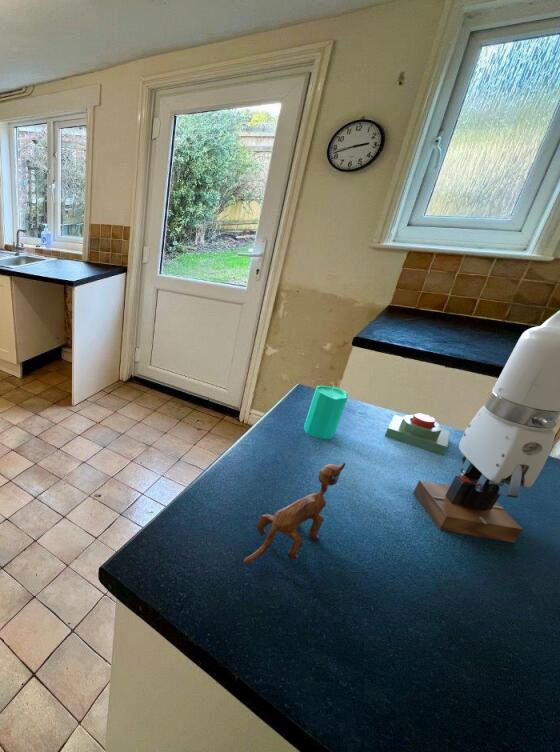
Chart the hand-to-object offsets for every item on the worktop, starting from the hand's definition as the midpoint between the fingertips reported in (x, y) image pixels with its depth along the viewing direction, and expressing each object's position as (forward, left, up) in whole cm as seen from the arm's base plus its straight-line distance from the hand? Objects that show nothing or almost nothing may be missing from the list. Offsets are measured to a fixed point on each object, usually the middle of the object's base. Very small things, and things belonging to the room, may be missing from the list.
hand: (468, 501), depth 70 cm
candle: (+16, -22, -4) cm, 27 cm away
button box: (-4, -25, -3) cm, 26 cm away
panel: (0, 0, -3) cm, 3 cm away
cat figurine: (+31, +15, -4) cm, 35 cm away
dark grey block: (0, 0, 0) cm, 0 cm away
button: (-4, -25, 0) cm, 25 cm away
